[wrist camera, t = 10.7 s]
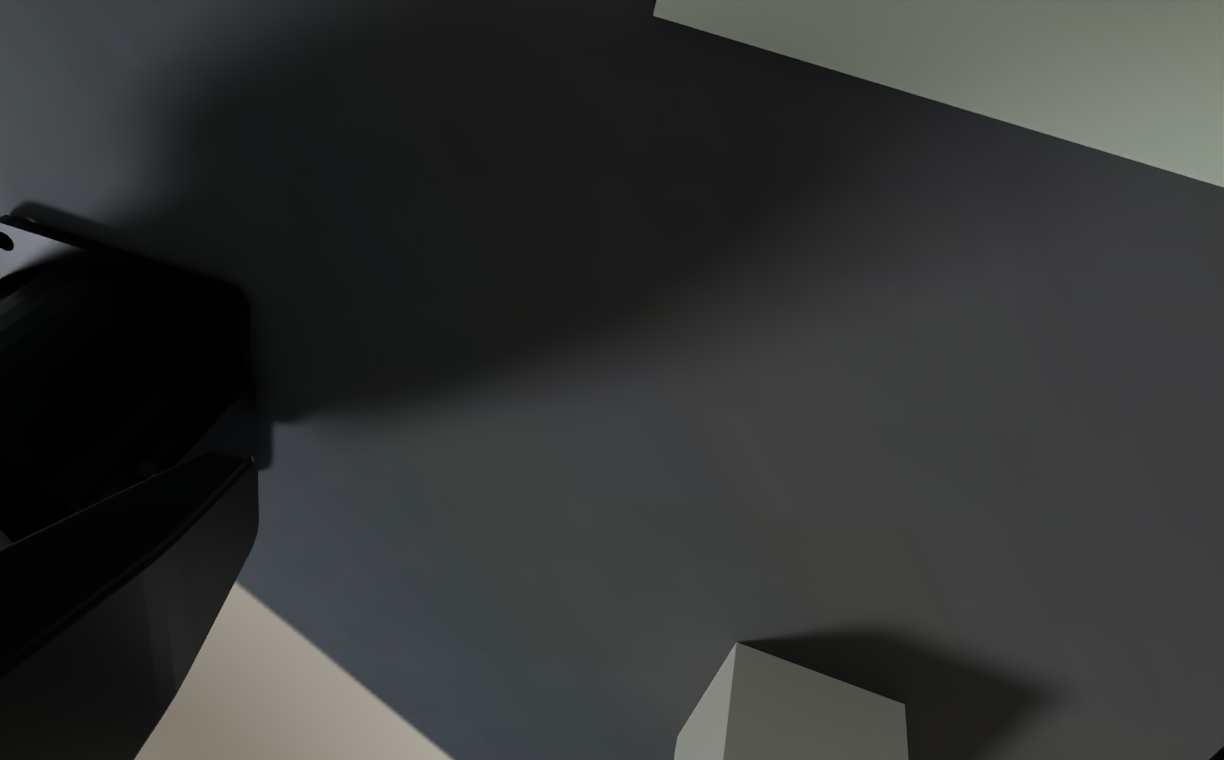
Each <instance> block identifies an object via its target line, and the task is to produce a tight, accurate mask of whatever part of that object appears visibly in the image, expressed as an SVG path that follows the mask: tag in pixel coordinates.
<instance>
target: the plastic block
mask: <svg viewBox="0 0 1224 760" xmlns="http://www.w3.org/2000/svg"><path fill="white" fill-rule="evenodd" d="M674 760H908V745H907V730H906V715H905V704H902V703H900V702H897V701H894V700H891V699H889V698H886V697H883V696H881V695H878V694H875V693H873V692H870V691H867V690H864V689H862V688H859V687H856V686H854V685H851V684H848V683H846V682H843V681H840V680H837V679H835V678H832V677H829V676H827V675H824V674H821V673H818V672H816V671H813V670H810V669H808V668H805V667H802V666H800V665H797V664H794V663H791V662H789V661H786V660H783V659H781V658H778V657H775V656H773V655H770V654H767V653H764V652H762V651H759V650H756V649H754V648H751V647H748V646H746V645H743V644H740V643H737V642H736V644H735V645H734V647H733V649H732V650H731V652H730V653H729V655H728V657H727V658H726V660H725V661H724V663H723V665H722V666H721V668H720V669H719V671H718V673H717V674H716V676H715V677H714V679H713V681H712V682H711V684H710V685H709V687H708V689H707V690H706V692H705V693H704V695H703V697H702V698H701V700H700V701H699V703H698V705H697V706H696V708H695V709H694V711H693V713H692V714H691V716H690V717H689V719H688V721H687V722H686V724H685V725H684V727H683V729H682V730H681V732H680V733H679V735H678V737H677V744H676V750H675V756H674Z"/></svg>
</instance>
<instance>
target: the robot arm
mask: <svg viewBox="0 0 1224 760" xmlns="http://www.w3.org/2000/svg"><path fill="white" fill-rule="evenodd" d="M10 238H11V239H12V240H11V239H10ZM221 301H222V302H224V303H226V304H227V305H228V306H229V308H230V309H231V311H230V310H229V309H227V308H225V307H224V306H223V304H222V303H221ZM255 450H256V379H255V377H254V374H253V372H252V370H251V355H250V306H249V301H248V299H247V298H246V296H245V295H244V293H243V292H241V291H240V290H239V289H238V288H236V287H234V286H232V285H230V284H227V283H224V282H221V281H218V280H215V279H211V278H208V277H205V276H202V275H199V274H196V273H192V272H189V271H186V270H183V269H180V268H177V267H173V266H170V265H167V264H164V263H161V262H157V261H154V260H151V259H148V258H145V257H142V256H138V255H135V254H132V253H129V252H126V251H122V250H119V249H116V248H113V247H110V246H107V245H103V244H100V243H97V242H94V241H91V240H88V239H84V238H81V237H78V236H75V235H72V234H68V233H65V232H62V231H59V230H56V229H53V228H49V227H46V226H43V225H40V224H37V223H33V222H30V221H27V220H24V219H21V218H18V217H14V216H9V215H4V216H1V217H0V760H134V759H135V757H136V756H137V754H138V753H139V751H140V750H141V748H142V747H143V745H144V744H145V742H146V741H147V739H148V738H149V736H150V735H151V733H152V732H153V730H154V729H155V727H156V726H157V724H158V723H159V721H160V720H161V718H162V716H163V715H164V713H165V711H166V710H167V708H168V707H169V705H170V704H171V702H172V700H173V699H174V697H175V696H176V694H177V692H178V690H179V688H180V687H181V685H182V683H183V681H184V679H185V677H186V676H187V674H188V672H189V670H190V668H191V666H192V664H193V662H194V660H195V658H196V656H197V654H198V653H199V651H200V649H201V646H202V645H203V643H204V641H205V639H206V636H207V635H208V633H209V631H210V629H211V627H212V625H213V623H214V621H215V619H216V617H217V615H218V613H219V612H220V610H221V608H222V606H223V604H224V602H225V600H226V598H227V596H228V594H229V592H230V590H231V588H232V586H233V584H234V582H235V581H236V579H237V577H238V575H239V573H240V571H241V569H242V567H243V565H244V563H245V561H246V559H247V557H248V555H249V553H250V551H251V549H252V547H253V545H254V542H255V539H256V536H257V532H258V526H259V502H258V471H257V467H256V465H255V463H254V462H253V461H252V454H253V453H254V452H255ZM1209 760H1224V747H1223V748H1221V749H1220V750H1219V751H1218V752H1217V753H1216V754H1215V755H1213V756H1212V757H1211V758H1210V759H1209Z"/></svg>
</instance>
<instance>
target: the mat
mask: <svg viewBox="0 0 1224 760" xmlns="http://www.w3.org/2000/svg"><path fill="white" fill-rule="evenodd" d="M653 16H656V17H659V18H662V19H666V20H669V21H672V22H676V23H679V24H682V25H686V26H689V27H692V28H696V29H699V30H702V31H706V32H709V33H712V34H716V35H719V36H722V37H726V38H729V39H732V40H735V41H739V42H742V43H745V44H749V45H752V46H755V47H759V48H762V49H765V50H769V51H772V52H775V53H779V54H782V55H785V56H789V57H792V58H795V59H799V60H802V61H805V62H809V63H812V64H815V65H819V66H822V67H825V68H829V69H832V70H835V71H839V72H842V73H845V74H849V75H852V76H855V77H858V78H862V79H865V80H868V81H872V82H875V83H878V84H882V85H885V86H888V87H892V88H895V89H898V90H902V91H905V92H908V93H912V94H915V95H918V96H922V97H925V98H928V99H932V100H935V101H938V102H942V103H945V104H948V105H952V106H955V107H958V108H962V109H965V110H968V111H972V112H975V113H978V114H981V115H985V116H988V117H991V118H995V119H998V120H1001V121H1005V122H1008V123H1011V124H1015V125H1018V126H1021V127H1025V128H1028V129H1031V130H1035V131H1038V132H1041V133H1045V134H1048V135H1051V136H1055V137H1058V138H1061V139H1065V140H1068V141H1071V142H1075V143H1078V144H1081V145H1085V146H1088V147H1091V148H1095V149H1098V150H1101V151H1104V152H1108V153H1111V154H1114V155H1118V156H1121V157H1124V158H1128V159H1131V160H1134V161H1138V162H1141V163H1144V164H1148V165H1151V166H1154V167H1158V168H1161V169H1164V170H1168V171H1171V172H1174V173H1178V174H1181V175H1184V176H1188V177H1191V178H1194V179H1198V180H1201V181H1204V182H1208V183H1211V184H1214V185H1218V186H1221V187H1224V0H657V1H656V5H655V9H654V13H653Z"/></svg>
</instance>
